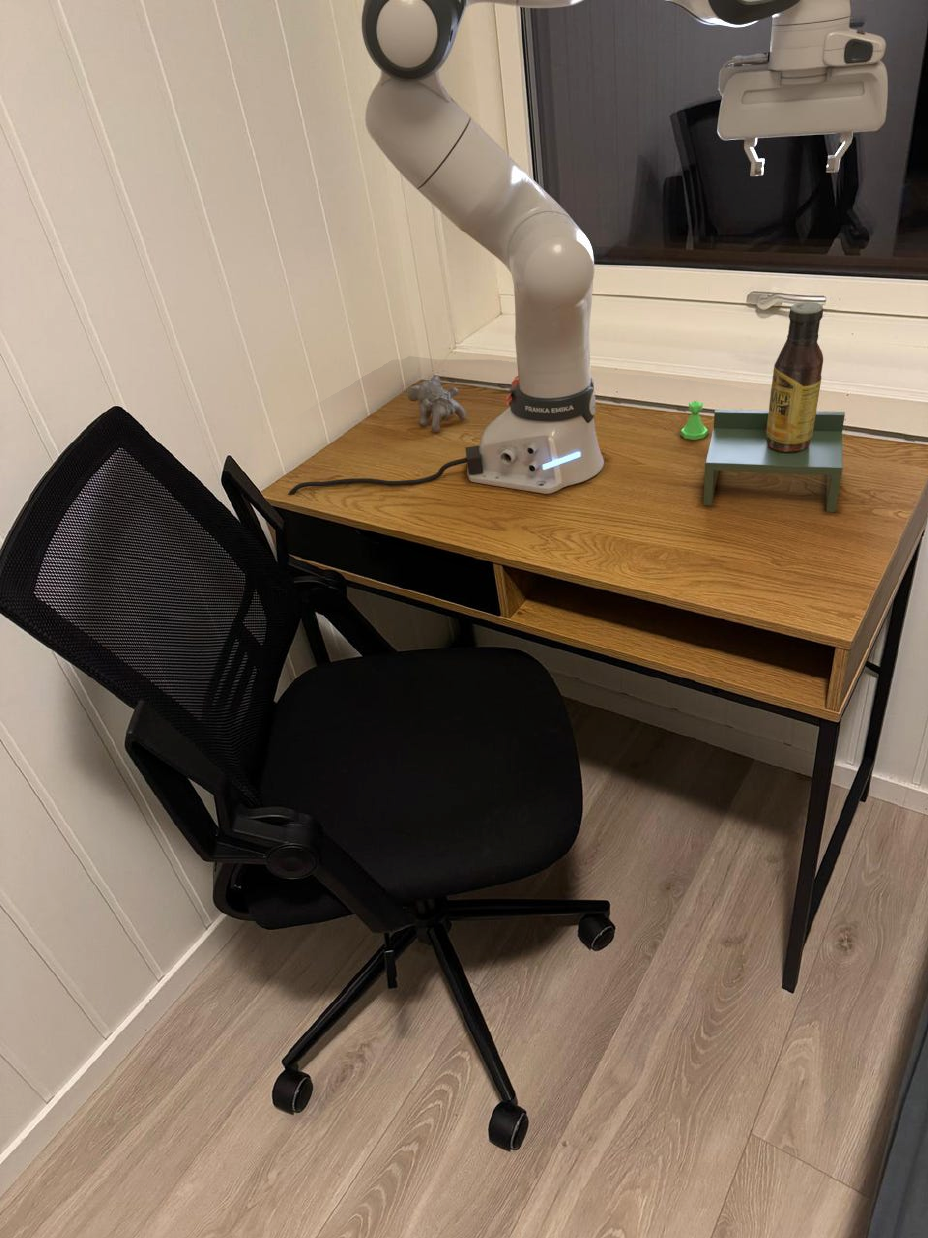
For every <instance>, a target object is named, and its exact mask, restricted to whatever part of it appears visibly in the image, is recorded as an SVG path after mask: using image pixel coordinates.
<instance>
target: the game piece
mask: <svg viewBox="0 0 928 1238" xmlns="http://www.w3.org/2000/svg"><path fill="white" fill-rule="evenodd" d="M702 411H703V402H701V401H698V400H694V401H692V402H690V403H688V412H690V413H691V414H690V415H689V418H688V420H687V421H686V424H685V426H684V427H683V428H681V430H680V435H681V436H682V438H684V439H685V440H691V441H697V440H701V439H704V438H705V437H706V436H707V435H708V434H709V433H708V432H709V431H708V430H709V429H708V428H707V427H706V426H705V425H704V423H703V421H702V417H701V416H700V412H702Z"/></svg>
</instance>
